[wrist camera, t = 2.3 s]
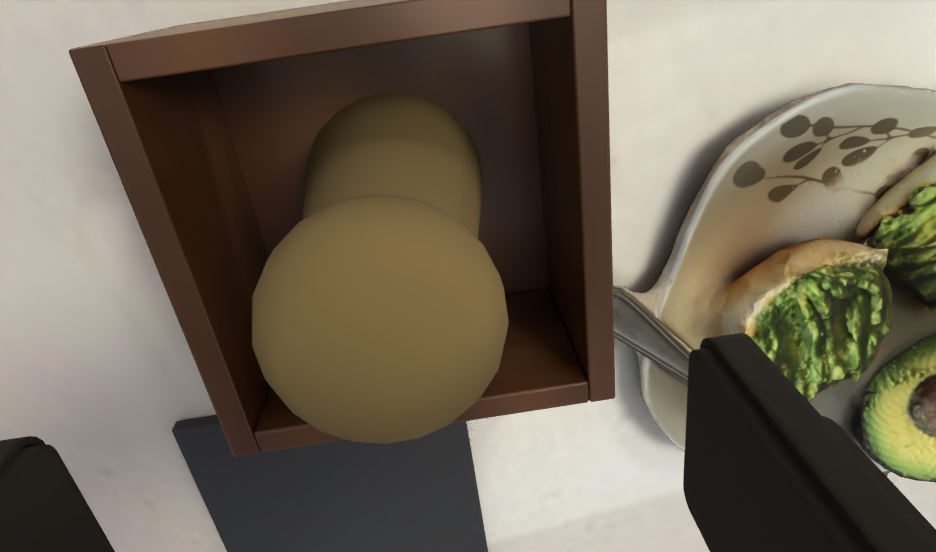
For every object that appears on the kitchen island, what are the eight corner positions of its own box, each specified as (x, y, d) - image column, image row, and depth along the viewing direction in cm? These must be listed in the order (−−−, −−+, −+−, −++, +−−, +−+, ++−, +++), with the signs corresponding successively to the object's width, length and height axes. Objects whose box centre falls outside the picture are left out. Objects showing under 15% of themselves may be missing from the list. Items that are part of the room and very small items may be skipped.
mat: (257, 602, 31) (255, 613, 30) (176, 421, 25) (171, 430, 25) (490, 566, 31) (491, 576, 30) (458, 377, 25) (459, 386, 25)
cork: (348, 282, 22) (295, 523, 13) (275, 127, 20) (136, 280, 10) (503, 232, 22) (574, 441, 12) (451, 66, 19) (489, 163, 9)
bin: (278, 338, 24) (233, 457, 18) (176, 25, 19) (66, 49, 13) (566, 295, 24) (616, 399, 18) (546, -29, 19) (606, -29, 13)
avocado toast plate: (527, 440, 27) (548, 523, 23) (661, 20, 20) (726, 32, 16) (897, 480, 30) (973, 559, 26) (1136, 130, 23) (1296, 164, 19)
